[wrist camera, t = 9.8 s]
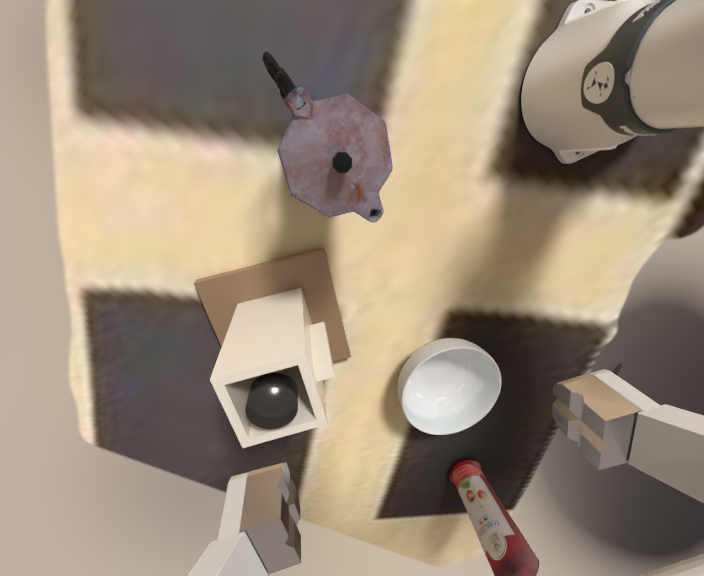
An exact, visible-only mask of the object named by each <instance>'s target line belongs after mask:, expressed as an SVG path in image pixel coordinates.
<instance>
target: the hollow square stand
mask: <svg viewBox="0 0 704 576" xmlns="http://www.w3.org/2000/svg"><path fill="white" fill-rule="evenodd" d="M194 285H195V287H196V289H197V292H198V294H199V296H200V298H201V301H202V303H203V305H204V308H205V310H206V312H207V315H208V317H209V319H210V321H211V324H212V326H213V328H214V331H215V333H216V335H217V337H218V340H219V342H220V344H221V347H222V348H221V351H220V353H219V356H218V359H217V362H216V364H215V367H214V370H213V372H212V375H211V378H210V381H211V383H212V385H213V387H214V389H215V391H216V393H217V396H218V398H219V400H220V402H221V404H222V406H223V408H224V410H225V412H226V414H227V417H228V419H229V421H230V423H231V425H232V427H233V429H234V431H235V433H236V435H237V438H238V440H239V442H240V444H241V446H242V448H245V447H249V446H252V445H256V444H259V443H263V442H266V441H270V440H273V439H277V438H281V437H284V436H288V435H291V434H295V433H298V432H302V431H305V430H309V429H312V428H316V427H319V426H323V425H326V424H328V422H327V414H326V406H325V398H324V390H323V382H322V380H325V379H328V378H332V377H335V372H334V367H333V362H334V361H338V360H342V359H345V358H349V357H351V355H350V351H349V347H348V343H347V339H346V335H345V331H344V327H343V323H342V319H341V315H340V311H339V307H338V303H337V299H336V295H335V291H334V287H333V283H332V279H331V275H330V271H329V267H328V263H327V260H326V256H325V252H324V248H322V249H318V250H314V251H310V252H306V253H302V254H298V255H294V256H290V257H286V258H282V259H278V260H274V261H270V262H266V263H262V264H258V265H254V266H250V267H246V268H241V269H237V270H233V271H229V272H225V273H221V274H217V275H213V276H209V277H205V278H201V279H197V280H196V281H195V283H194ZM278 370H282V371H281V374H285V375H287V376H289V377H290V378H291V379H293V381H294V382H295V383H296V385H297V389H298V411H297V414H296V416H295V418H294V419H293V420H292V421H291V422H290V423H289V424H287V425H286V426H283V427H281V428H277V429H264V428H260V427H258V426H256V425H254V424H253V423H251V422H250V421H249V419H248V418H247V415H246V404H247V398H248V393H249V388H250V386H251V384H252V382H253V381H254V380H255V379H257V378H258V377H259V376H261V375H264V374H267V373H271V372H274V371H278Z"/></svg>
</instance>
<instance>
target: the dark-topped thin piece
mask: <svg viewBox="0 0 704 576" xmlns="http://www.w3.org/2000/svg"><path fill="white" fill-rule="evenodd" d="M281 371H282V370H278V371H274V372H271V373H267V374H264V375H261V376H259V377H258V378H257V379H255V380H254V381H253V382H252V384H251V386H250V388H249V393H248V398H247V404H246V415H247V418H248V419H249V421H250V422H251V423H253V424H254V425H256V426H258V427H260V428H264V429H277V428H281V427H283V426H286V425H287V424H289V423H290V422H291V421H292V420H293V419H294V418H295V416H296V414H297V411H298V389H297V385H296V383H295V382H294V381H293V379H291V378H290V377H289V376H287V375H285V374H281Z"/></svg>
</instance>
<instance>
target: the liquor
mask: <svg viewBox="0 0 704 576" xmlns="http://www.w3.org/2000/svg"><path fill="white" fill-rule="evenodd" d="M450 480H451V482H453V483H454V484H455V485H456V488H457V490H458V492H459V494H460V496H461V499H462V501H463V503H464V505H465V508H466V510H467V512H468V514H469V517H470V519H471V521H472V524H473V526H474V528H475V531H476V533H477V536H478V538H479V541H480V543H481V545H482V548H483V550H484V552H485V554H486V557H487V559H488V561H489V563H490V566H491V568H492V570H493V572H494V575H495V576H536V574H537V572H538V568H539V560H538V558H537V557H536V555H535V554H534V552H533V551H532V549H531V548H530V546H529V544H528V543H527V541H526V540H525V538H524V537H523V535H522V533H521V532H520V531H519V529H518V527H517V526H516V524H515V523H514V521H513V520H512V518H511V517H510V515H509V514H508V512H507V511H506V509H505V508H504V506H503V505H502V503H501V502H500V500H499V498H498V497H497V495H496V494H495V492H494V491H493V489H492V487H491V486H490V484H489V483H488V481H487V479H486V478H485V476H484V474H483V473H482V471H481V465H480V464H479V463H478V462H476V461H473V460H461V461H458V462H457V463H456V464H455V465H454V466H453V468H452V470H451V473H450Z"/></svg>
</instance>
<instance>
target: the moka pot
mask: <svg viewBox="0 0 704 576" xmlns="http://www.w3.org/2000/svg"><path fill="white" fill-rule="evenodd" d="M263 61H264V64H265V66H266V68H267V71H268V73H269V74H270V75H271V77H272V78H273V80H274V81H275V82H276V83H277V86H278V87H279V89H280V95H281V96H282V98H283V99H284V102H285V104H286V105H287V107H288V108H289V109H290V111H291V112H292V115H293V118H292V120H291V121H290V123H289V125H288V126H287V128H286V130H285V133H284V135H283V137H282V141H281V143H280V145H279V148H278V153H279V157H280V160H281V163H282V166H283V169H284V173H285V176H286V179H287V182H288V186H289V189H290V192H291V195H292V196H294V197H295V198H297V199H299V200H300V201H302V202H304V203H306V204H307V205H309V206H311V207H313V208H314V209H316V210H318V211H319V212H321V213H323V214H324V215H326V216H328V217H333V216H337V215H341V214H345V213H348V212H355V213H357V214H359V215H360V216H362V217H363V218H365V219H366V220H368V221H370V222H376V221H377V220H379V219H380V218H381V216H382V214H383V207H382V204H381V201H380V197H379V191H380V189H381V187H382V186H383V184H384V183H385V181H386V180H387V178H388V177H389V175H390V173H391V171H392V159H391V153H390V147H389V141H388V134H387V128H386V124H385V122H384V120H382V119H381V118H379V117H378V116H377V115H375V114H374V113H372V112H371V111H370V110H368V109H367V108H366V107H364V106H363V105H362V104H360V103H359V102H358V101H357V100H355V99H354V98H353V97H351V96H350V95H348V94H342V95H338V96H335V97H331V98H327V99H322V100H316V101H313V100H311V99H310V98H309V96H308V95H307V93H306V91H305V90H304V89H303V88H302V87H301V86H298V87H296V86H295V85H294V84H293V82H292V81H291V79H290V78H289V76H288V75H287V73H286V72H285V71H284V69H283V68H280V67H279V65H278V63H277V62H276V60H275V59H274V58H273V57H272V55H271V54H269V53H268V52H265V53H264V54H263ZM276 83H275V84H276Z"/></svg>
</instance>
